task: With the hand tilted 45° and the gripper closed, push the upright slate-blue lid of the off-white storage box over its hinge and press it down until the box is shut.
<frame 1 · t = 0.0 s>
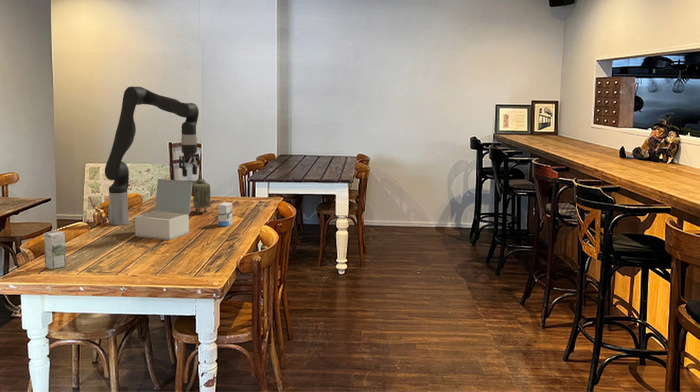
hand: (189, 175, 309), 29 cm above the table, tool pointing down, fingers open, 8 cm apart
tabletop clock: (202, 212, 363), on the table
storage box: (162, 234, 306), on the table
ink box: (225, 225, 332), on the table
syrup box: (55, 267, 248), on the table
lid: (173, 196, 312), point 18 cm above the table, hinge at 100.0°
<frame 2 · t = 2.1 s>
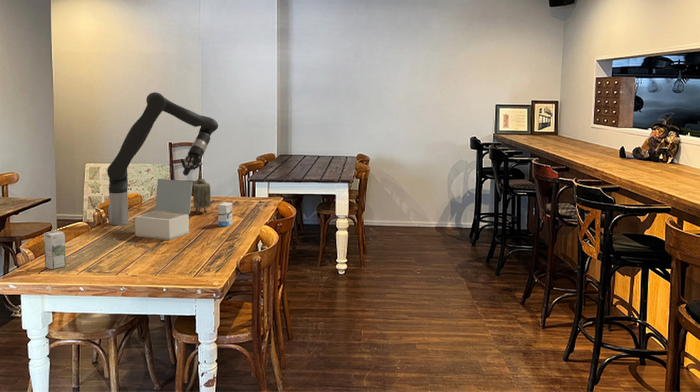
hand: (185, 174, 320), 28 cm above the table, tool tilted 45°, fingers closed
nothing on the table moved.
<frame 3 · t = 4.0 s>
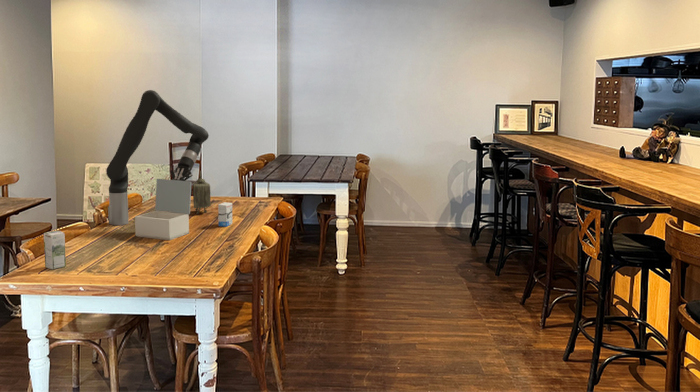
hand: (174, 186, 312), 23 cm above the table, tool tilted 45°, fingers closed
lid: (173, 196, 312), point 18 cm above the table, hinge at 97.0°, touching gripper
everything else where it was.
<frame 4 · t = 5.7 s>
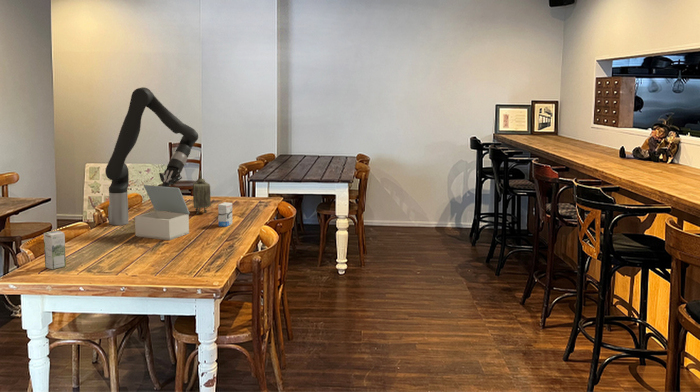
hand: (163, 189, 304), 23 cm above the table, tool tilted 45°, fingers closed
lid: (166, 199, 307), point 17 cm above the table, hinge at 59.5°, touching gripper
everything else where it was.
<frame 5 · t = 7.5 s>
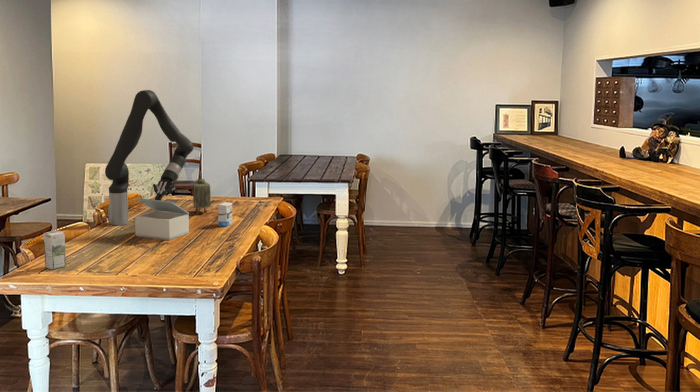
hand: (156, 201, 300), 18 cm above the table, tool tilted 45°, fingers closed
lid: (163, 206, 305), point 14 cm above the table, hinge at 29.7°, touching gripper
everything else where it was.
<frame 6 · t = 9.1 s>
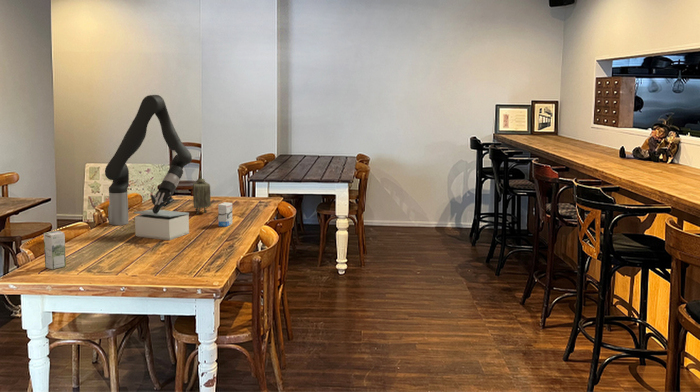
hand: (154, 212, 299), 13 cm above the table, tool tilted 45°, fingers closed
lid: (161, 213, 304), point 11 cm above the table, hinge at 5.4°, touching gripper
everything else where it was.
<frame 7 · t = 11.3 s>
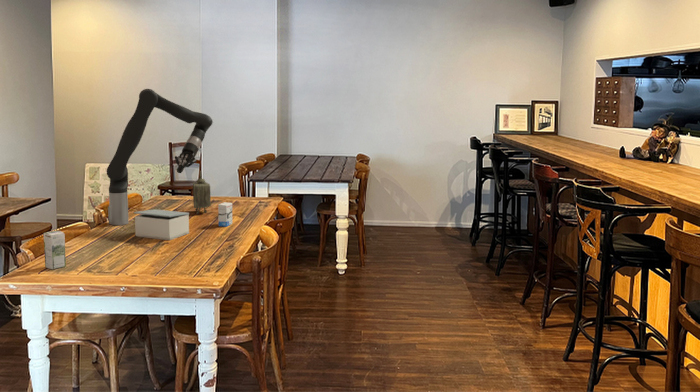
hand: (178, 172, 315), 30 cm above the table, tool tilted 45°, fingers closed
lid: (161, 213, 304), point 11 cm above the table, hinge at 5.3°
everything else where it was.
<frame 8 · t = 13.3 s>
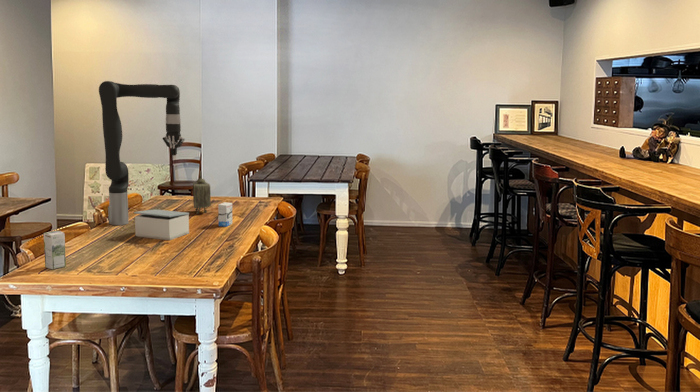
hand: (173, 155, 328), 37 cm above the table, tool pointing down, fingers closed
nothing on the table moved.
at the end: lid at +5° (first picture: +100°) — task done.
